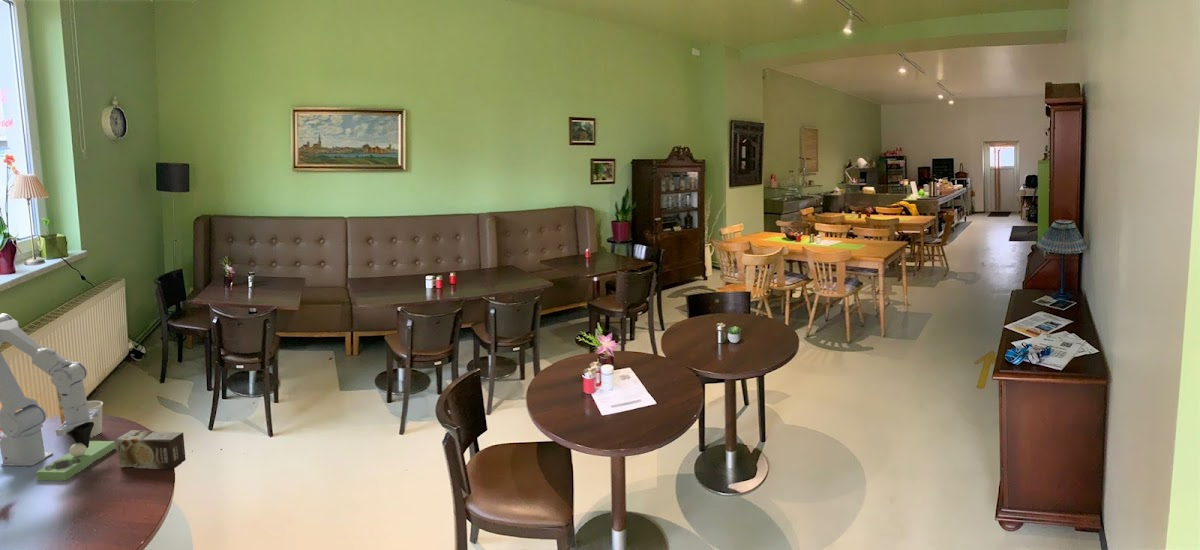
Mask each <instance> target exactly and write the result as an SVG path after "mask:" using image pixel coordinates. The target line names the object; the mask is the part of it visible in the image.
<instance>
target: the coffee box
mask: <svg viewBox="0 0 1200 550" xmlns="http://www.w3.org/2000/svg"><path fill="white" fill-rule="evenodd" d="M116 445H117V452H118V460H119V461H118V462H119V467H120V468H124V467H134V468H133V469H146V468H147V469H148V470H170V471H173V470H174V469H176V468H177V467H179V466H181V465H182V463H183V462H185V461H186V458H187V457H186V450H185V438H184V432H175V431H158V430H156V431H155V430H154V431H153V430H137V429H136V430H135V429H134V430H133V429H131V430H129V431H128V432H126V433H124V434H122V435H120V436H119V437H117V438H116Z"/></svg>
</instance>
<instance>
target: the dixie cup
mask: <svg viewBox="0 0 1200 550" xmlns="http://www.w3.org/2000/svg"><path fill="white" fill-rule="evenodd" d="M87 404H88V409H89V411H91V410H93V409H99V413H100V415H99V416H97V417H96V416H95V417H94V418H93V419H94V420H92V421H91V422H94V426H93V428H92V431H91V434H90V437H91V438H94V437H93V436H95V437H97V436H96V435H98V434H100V433H101V432H102V433H103V405H104V402H103V401H102V400H87ZM102 433H101V434H102ZM101 434H100V435H101ZM98 436H99V435H98Z"/></svg>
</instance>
